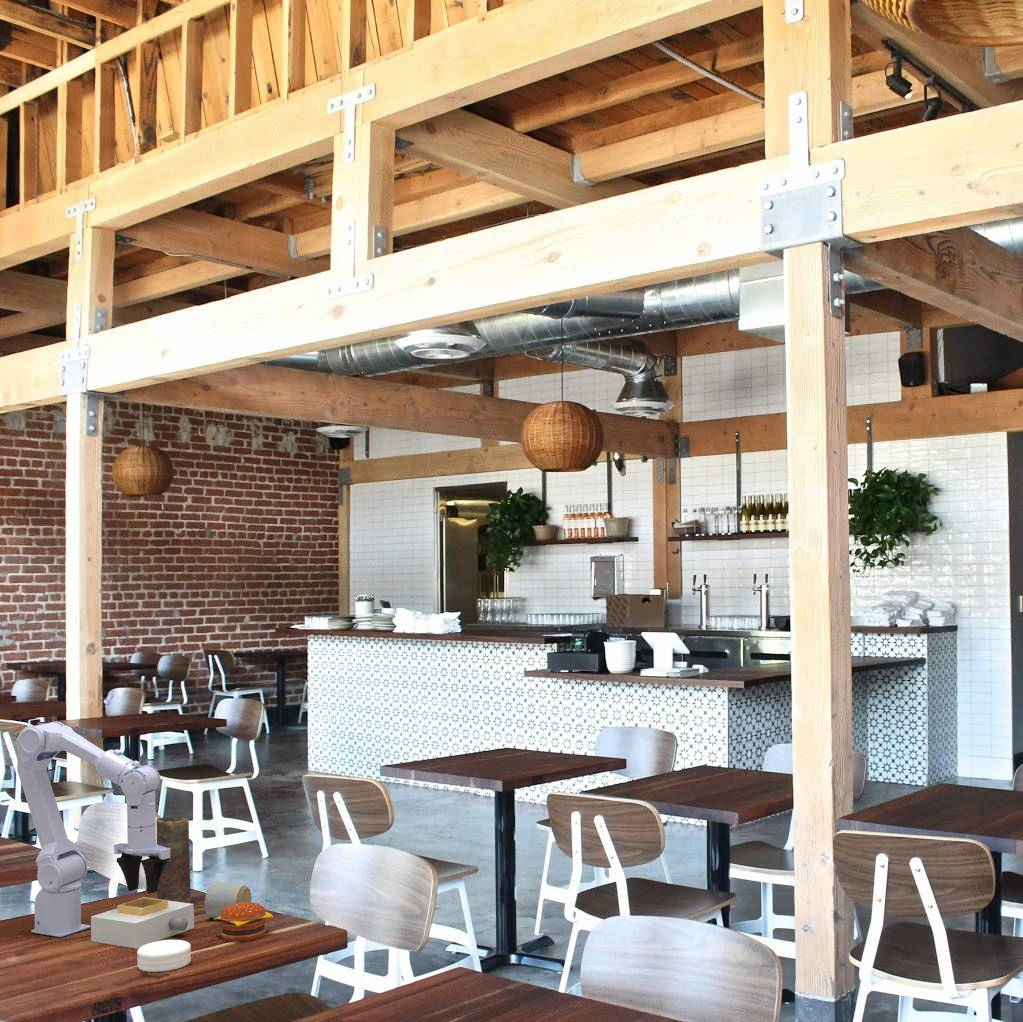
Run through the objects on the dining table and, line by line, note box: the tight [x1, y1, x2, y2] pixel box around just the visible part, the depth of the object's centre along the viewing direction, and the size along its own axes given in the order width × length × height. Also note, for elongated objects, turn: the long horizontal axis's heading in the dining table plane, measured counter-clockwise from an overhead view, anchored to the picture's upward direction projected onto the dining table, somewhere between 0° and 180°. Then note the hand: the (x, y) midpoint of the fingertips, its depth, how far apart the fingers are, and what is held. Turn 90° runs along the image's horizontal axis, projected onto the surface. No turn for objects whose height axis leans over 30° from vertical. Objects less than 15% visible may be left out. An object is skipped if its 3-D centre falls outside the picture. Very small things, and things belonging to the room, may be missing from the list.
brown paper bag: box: [156, 816, 192, 903], centre depth 277 cm, size 8×7×20 cm
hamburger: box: [213, 901, 274, 943], centre depth 252 cm, size 9×10×7 cm
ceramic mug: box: [204, 880, 252, 919], centre depth 268 cm, size 11×8×8 cm
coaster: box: [136, 939, 192, 973], centre depth 234 cm, size 10×10×4 cm
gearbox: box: [90, 896, 195, 950], centre depth 255 cm, size 16×16×6 cm
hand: (142, 891), depth 256 cm, fingers open, 5 cm apart
